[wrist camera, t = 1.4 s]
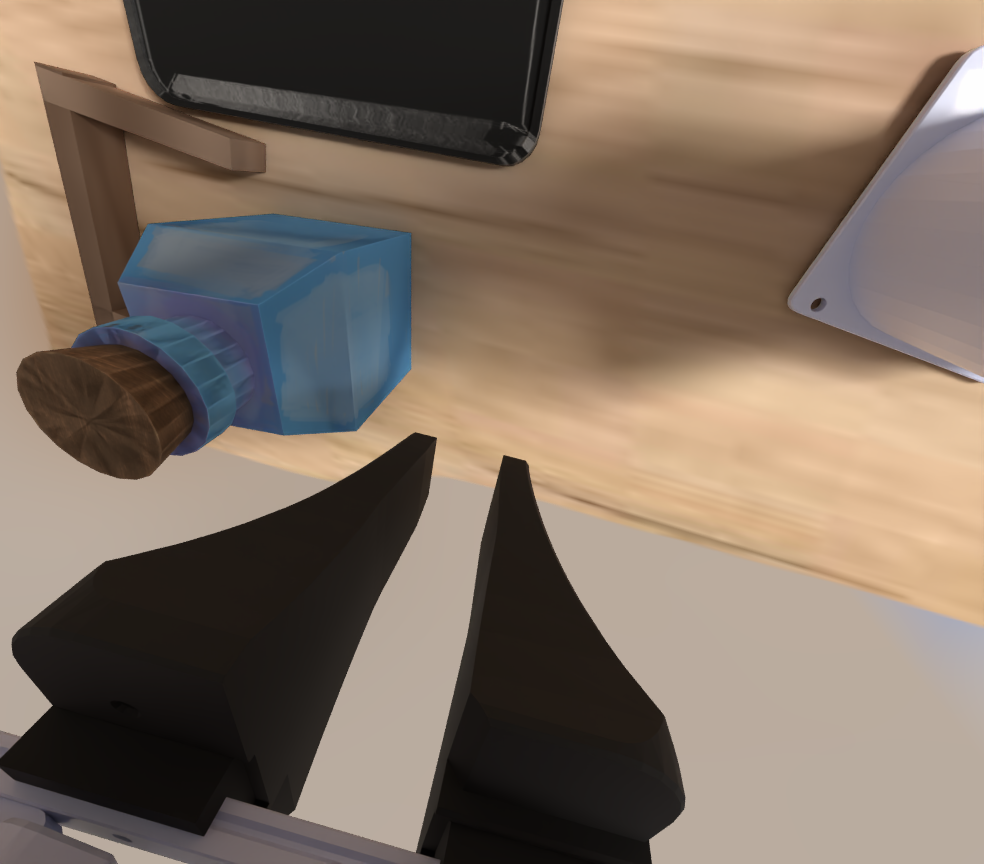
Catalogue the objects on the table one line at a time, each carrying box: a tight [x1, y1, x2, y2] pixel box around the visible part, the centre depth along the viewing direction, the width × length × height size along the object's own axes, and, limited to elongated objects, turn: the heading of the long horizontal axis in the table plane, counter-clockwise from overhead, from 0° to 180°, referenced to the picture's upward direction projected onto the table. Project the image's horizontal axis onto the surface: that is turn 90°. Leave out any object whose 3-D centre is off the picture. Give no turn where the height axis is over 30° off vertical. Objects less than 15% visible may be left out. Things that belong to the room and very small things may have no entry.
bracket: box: [34, 62, 266, 326], centre depth 18 cm, size 7×10×2 cm
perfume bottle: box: [16, 214, 411, 480], centre depth 14 cm, size 6×6×12 cm
